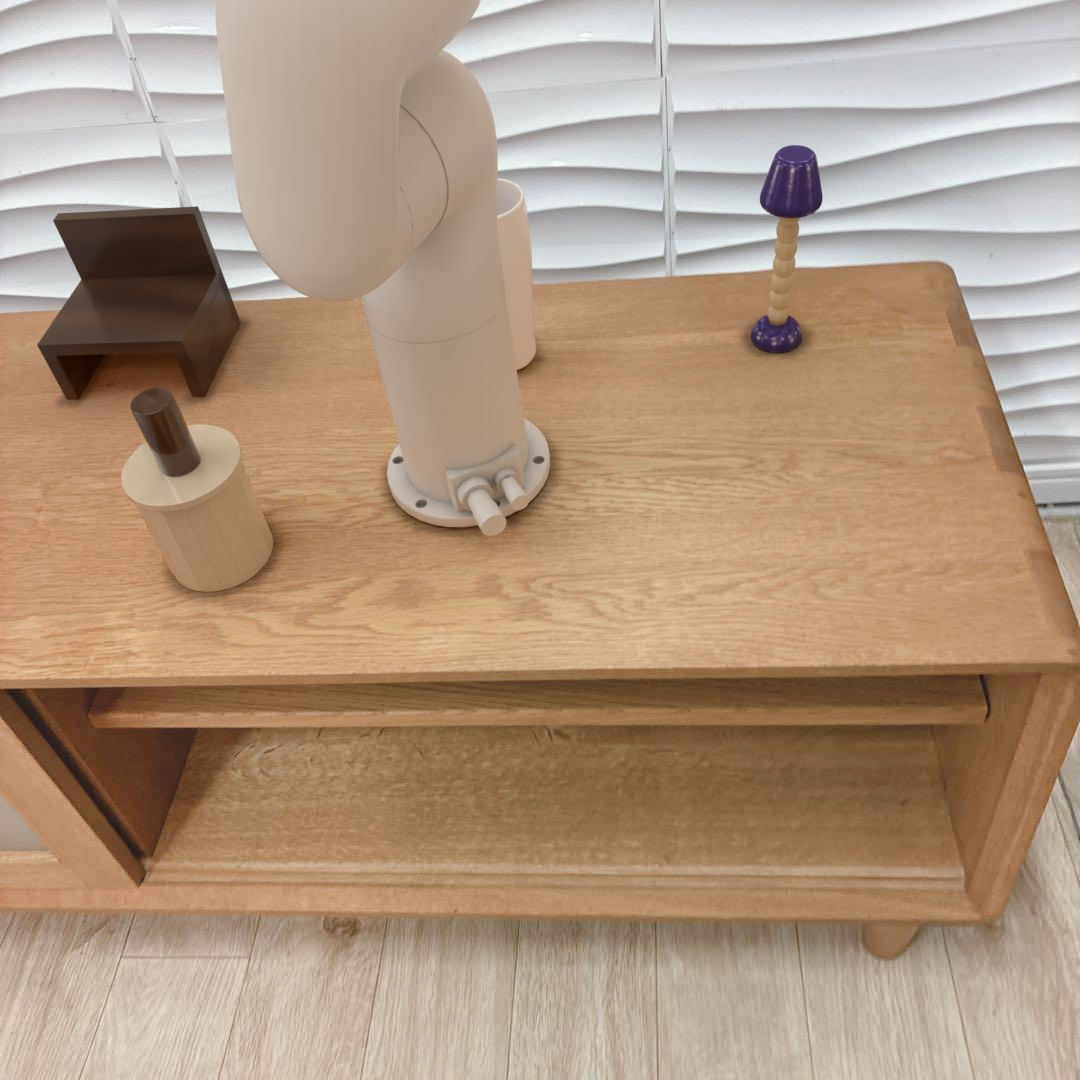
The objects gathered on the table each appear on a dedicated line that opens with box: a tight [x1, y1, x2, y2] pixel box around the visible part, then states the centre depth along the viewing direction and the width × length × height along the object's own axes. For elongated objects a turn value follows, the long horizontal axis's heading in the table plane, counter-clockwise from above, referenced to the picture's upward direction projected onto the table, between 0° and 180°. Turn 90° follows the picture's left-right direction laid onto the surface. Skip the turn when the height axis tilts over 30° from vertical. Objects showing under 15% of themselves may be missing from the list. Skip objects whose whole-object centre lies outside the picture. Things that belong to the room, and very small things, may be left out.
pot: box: [135, 462, 274, 593], centre depth 77 cm, size 8×8×8 cm
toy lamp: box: [750, 144, 823, 353], centre depth 85 cm, size 5×5×17 cm
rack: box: [36, 206, 241, 401], centre depth 94 cm, size 11×13×12 cm
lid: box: [120, 386, 244, 512], centre depth 72 cm, size 8×8×7 cm
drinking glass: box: [497, 177, 537, 371], centre depth 88 cm, size 7×7×15 cm
